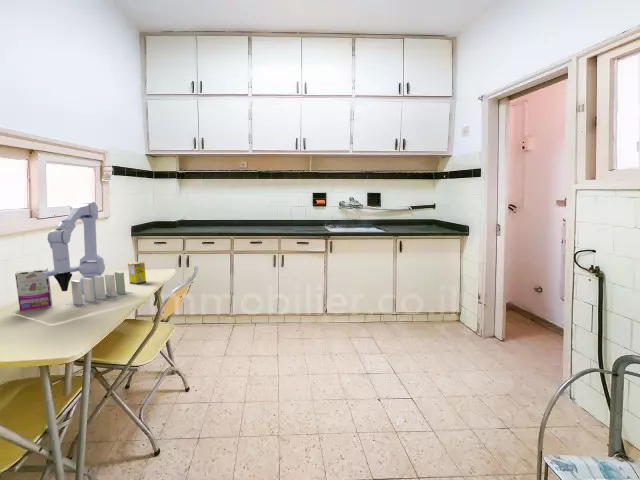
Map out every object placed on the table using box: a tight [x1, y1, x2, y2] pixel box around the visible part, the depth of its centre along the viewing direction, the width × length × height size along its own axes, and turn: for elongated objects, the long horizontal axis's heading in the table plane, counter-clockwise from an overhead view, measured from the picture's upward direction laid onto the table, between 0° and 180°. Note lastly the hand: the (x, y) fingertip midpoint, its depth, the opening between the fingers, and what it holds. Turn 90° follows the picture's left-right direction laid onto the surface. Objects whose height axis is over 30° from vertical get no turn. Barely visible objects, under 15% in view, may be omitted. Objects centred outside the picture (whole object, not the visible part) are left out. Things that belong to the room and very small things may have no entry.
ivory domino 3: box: [94, 275, 106, 299], centre depth 188 cm, size 2×5×10 cm, turn 58°
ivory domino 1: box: [70, 279, 84, 305], centre depth 180 cm, size 2×5×10 cm, turn 58°
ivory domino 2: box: [83, 278, 95, 302], centre depth 184 cm, size 2×5×10 cm, turn 58°
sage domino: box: [114, 271, 126, 294], centre depth 197 cm, size 2×5×10 cm, turn 55°
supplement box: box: [127, 261, 147, 285], centre depth 221 cm, size 6×6×11 cm
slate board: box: [66, 291, 133, 308], centre depth 189 cm, size 26×10×1 cm, turn 148°
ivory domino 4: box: [104, 273, 116, 297], centre depth 192 cm, size 2×5×10 cm, turn 58°
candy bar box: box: [14, 268, 53, 312], centre depth 176 cm, size 11×5×16 cm, turn 117°
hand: (64, 290), depth 175 cm, fingers closed
